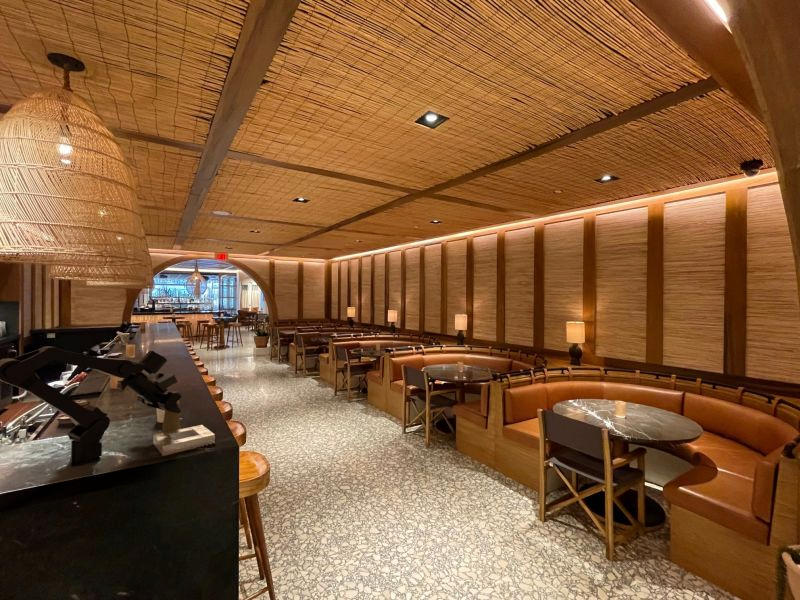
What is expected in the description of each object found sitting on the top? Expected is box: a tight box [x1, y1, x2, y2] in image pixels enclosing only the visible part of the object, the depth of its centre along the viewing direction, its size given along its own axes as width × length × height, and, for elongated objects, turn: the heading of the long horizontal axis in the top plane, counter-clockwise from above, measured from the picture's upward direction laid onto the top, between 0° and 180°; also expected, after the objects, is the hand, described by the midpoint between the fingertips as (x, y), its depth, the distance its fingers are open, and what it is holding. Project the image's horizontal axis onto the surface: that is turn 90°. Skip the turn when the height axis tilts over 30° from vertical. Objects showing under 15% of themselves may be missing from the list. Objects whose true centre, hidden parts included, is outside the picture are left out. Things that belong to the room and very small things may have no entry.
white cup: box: [156, 399, 180, 424], centre depth 147 cm, size 8×8×10 cm
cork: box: [161, 400, 182, 433], centre depth 130 cm, size 6×6×11 cm
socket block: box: [152, 424, 216, 457], centre depth 122 cm, size 15×14×3 cm
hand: (175, 411), depth 131 cm, fingers closed on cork, 5 cm apart
